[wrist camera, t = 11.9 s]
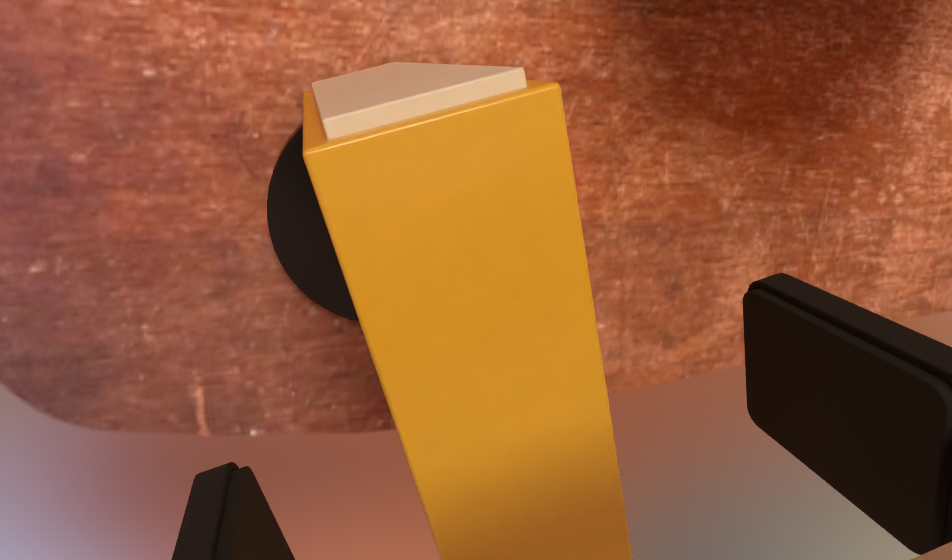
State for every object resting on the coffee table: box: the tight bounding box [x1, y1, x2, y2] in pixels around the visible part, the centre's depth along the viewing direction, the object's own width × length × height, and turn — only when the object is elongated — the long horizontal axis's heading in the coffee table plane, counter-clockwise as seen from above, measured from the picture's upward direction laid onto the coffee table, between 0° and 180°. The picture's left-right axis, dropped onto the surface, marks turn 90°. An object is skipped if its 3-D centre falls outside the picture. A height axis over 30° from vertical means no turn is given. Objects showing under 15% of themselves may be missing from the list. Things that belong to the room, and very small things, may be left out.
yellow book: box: [303, 62, 633, 560], centre depth 17 cm, size 4×12×15 cm, turn 13°
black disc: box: [267, 122, 359, 321], centre depth 25 cm, size 10×10×1 cm
